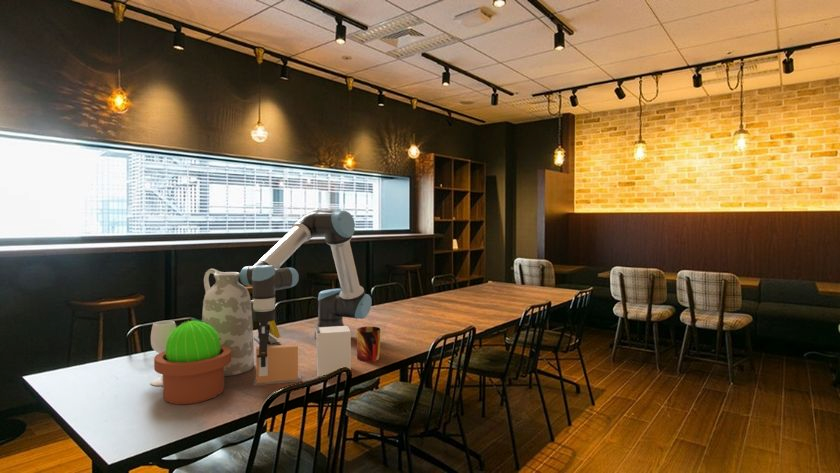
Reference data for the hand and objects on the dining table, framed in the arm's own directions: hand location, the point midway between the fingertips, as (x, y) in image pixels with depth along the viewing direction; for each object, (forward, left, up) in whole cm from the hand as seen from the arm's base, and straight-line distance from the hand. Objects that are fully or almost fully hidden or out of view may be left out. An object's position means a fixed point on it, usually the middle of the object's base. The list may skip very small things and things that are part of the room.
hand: (264, 369), depth 159 cm
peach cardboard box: (0, +5, -4) cm, 6 cm away
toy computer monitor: (-56, -1, -5) cm, 56 cm away
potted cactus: (+5, -21, -5) cm, 23 cm away
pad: (0, +5, -4) cm, 6 cm away
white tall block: (-5, +25, -4) cm, 25 cm away
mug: (-16, +42, -5) cm, 45 cm away
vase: (-19, -14, -5) cm, 24 cm away
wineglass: (-10, -33, -5) cm, 35 cm away
